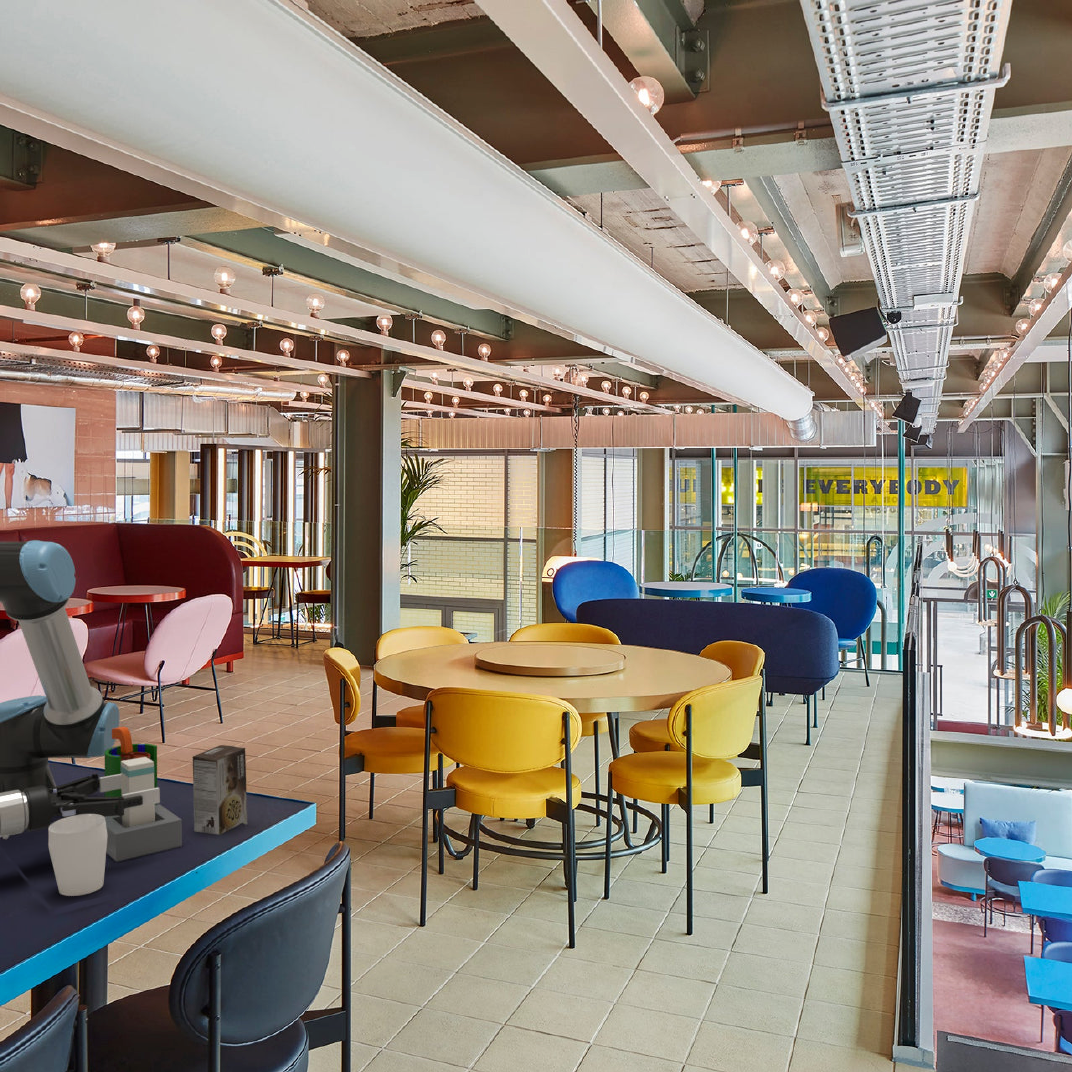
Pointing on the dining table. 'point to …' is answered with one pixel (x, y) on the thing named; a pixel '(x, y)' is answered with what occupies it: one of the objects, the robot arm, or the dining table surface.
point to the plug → (137, 789)
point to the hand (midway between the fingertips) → (147, 786)
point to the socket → (143, 835)
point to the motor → (126, 756)
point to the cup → (78, 853)
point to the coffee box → (219, 789)
